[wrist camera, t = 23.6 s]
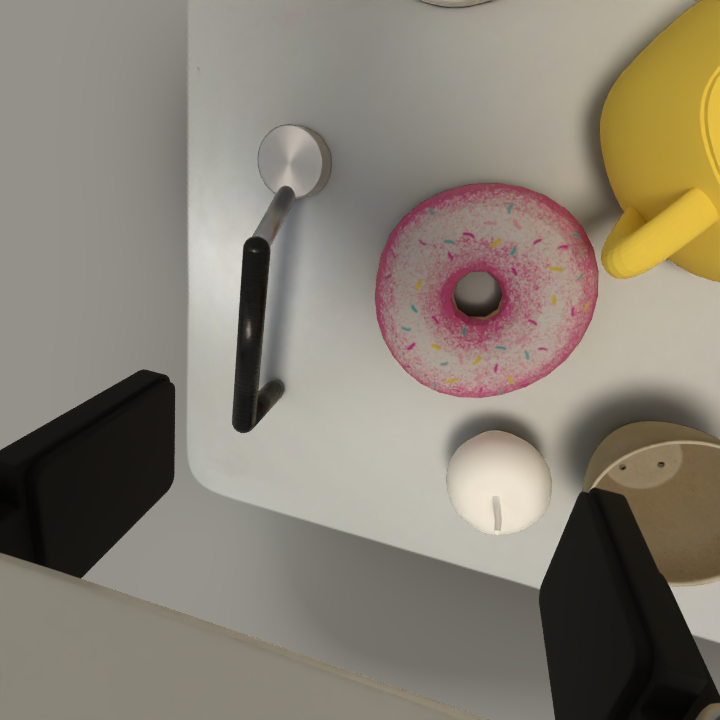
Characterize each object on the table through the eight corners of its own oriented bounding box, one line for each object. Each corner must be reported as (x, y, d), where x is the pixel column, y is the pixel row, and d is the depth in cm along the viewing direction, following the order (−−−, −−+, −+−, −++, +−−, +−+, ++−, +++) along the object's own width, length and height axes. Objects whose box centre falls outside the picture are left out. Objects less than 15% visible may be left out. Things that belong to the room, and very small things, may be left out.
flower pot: (692, 525, 35) (741, 605, 28) (549, 495, 37) (564, 564, 30) (746, 403, 31) (816, 463, 25) (584, 376, 33) (610, 425, 27)
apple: (440, 480, 39) (430, 551, 31) (461, 402, 36) (456, 460, 29) (529, 504, 37) (540, 583, 30) (557, 426, 35) (577, 492, 27)
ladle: (272, 122, 32) (222, 109, 26) (335, 133, 31) (300, 122, 25) (251, 389, 40) (208, 428, 33) (301, 402, 39) (267, 445, 33)
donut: (572, 153, 29) (590, 149, 24) (600, 360, 32) (620, 390, 28) (360, 214, 33) (341, 220, 28) (407, 392, 36) (396, 422, 32)
